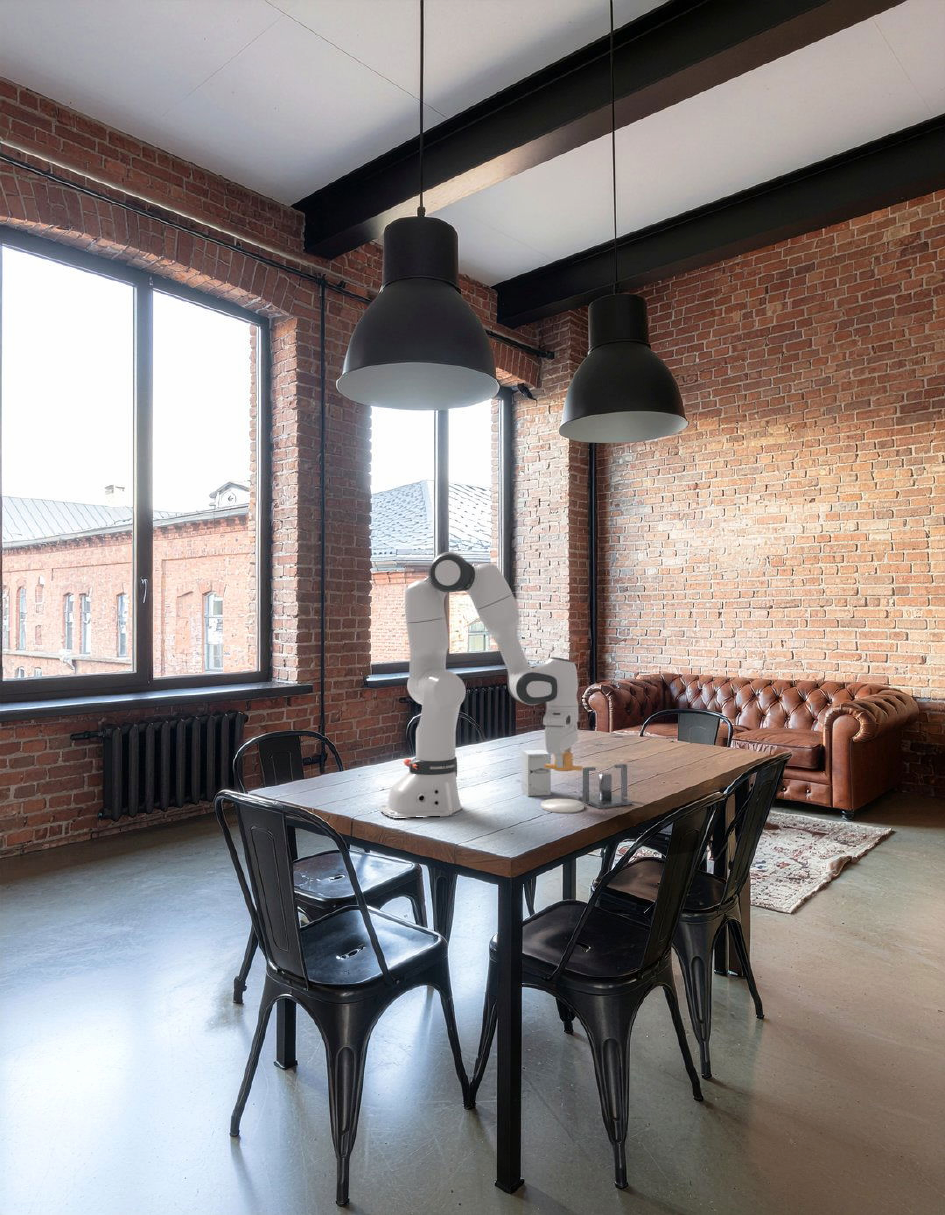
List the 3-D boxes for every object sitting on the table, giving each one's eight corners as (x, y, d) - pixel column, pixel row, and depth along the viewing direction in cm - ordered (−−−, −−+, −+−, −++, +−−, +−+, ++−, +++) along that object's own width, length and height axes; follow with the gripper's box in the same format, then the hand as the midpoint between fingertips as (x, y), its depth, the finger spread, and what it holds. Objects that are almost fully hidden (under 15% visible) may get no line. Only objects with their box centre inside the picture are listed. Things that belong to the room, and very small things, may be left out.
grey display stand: (594, 809, 217) (594, 771, 217) (574, 800, 227) (574, 764, 227) (637, 804, 222) (636, 767, 222) (615, 796, 232) (615, 760, 232)
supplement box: (527, 797, 232) (527, 754, 232) (521, 791, 239) (520, 749, 239) (551, 795, 233) (551, 753, 233) (544, 790, 240) (544, 749, 241)
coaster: (554, 814, 211) (554, 811, 211) (533, 804, 222) (533, 801, 222) (592, 810, 216) (592, 806, 216) (570, 800, 227) (570, 797, 227)
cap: (543, 770, 219) (542, 754, 219) (548, 766, 224) (548, 751, 223) (579, 772, 215) (579, 756, 215) (584, 768, 220) (583, 753, 220)
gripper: (561, 710, 230) (562, 757, 230) (540, 719, 211) (541, 771, 211) (582, 710, 228) (583, 758, 228) (563, 720, 209) (564, 772, 209)
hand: (563, 764), depth 219 cm, fingers closed on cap, 5 cm apart
